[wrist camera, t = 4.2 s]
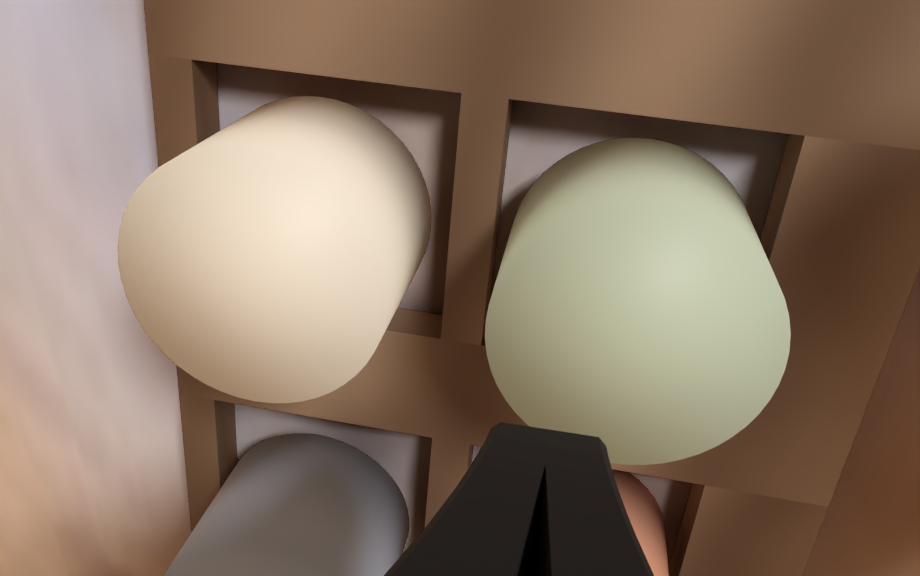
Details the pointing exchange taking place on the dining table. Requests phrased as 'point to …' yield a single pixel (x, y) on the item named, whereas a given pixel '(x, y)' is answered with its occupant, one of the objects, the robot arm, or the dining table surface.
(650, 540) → the peach rounded cylinder
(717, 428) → the sage puck
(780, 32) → the brown compartment tray
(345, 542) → the grey short rounded cylinder
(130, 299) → the cream puck
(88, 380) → the dining table surface
